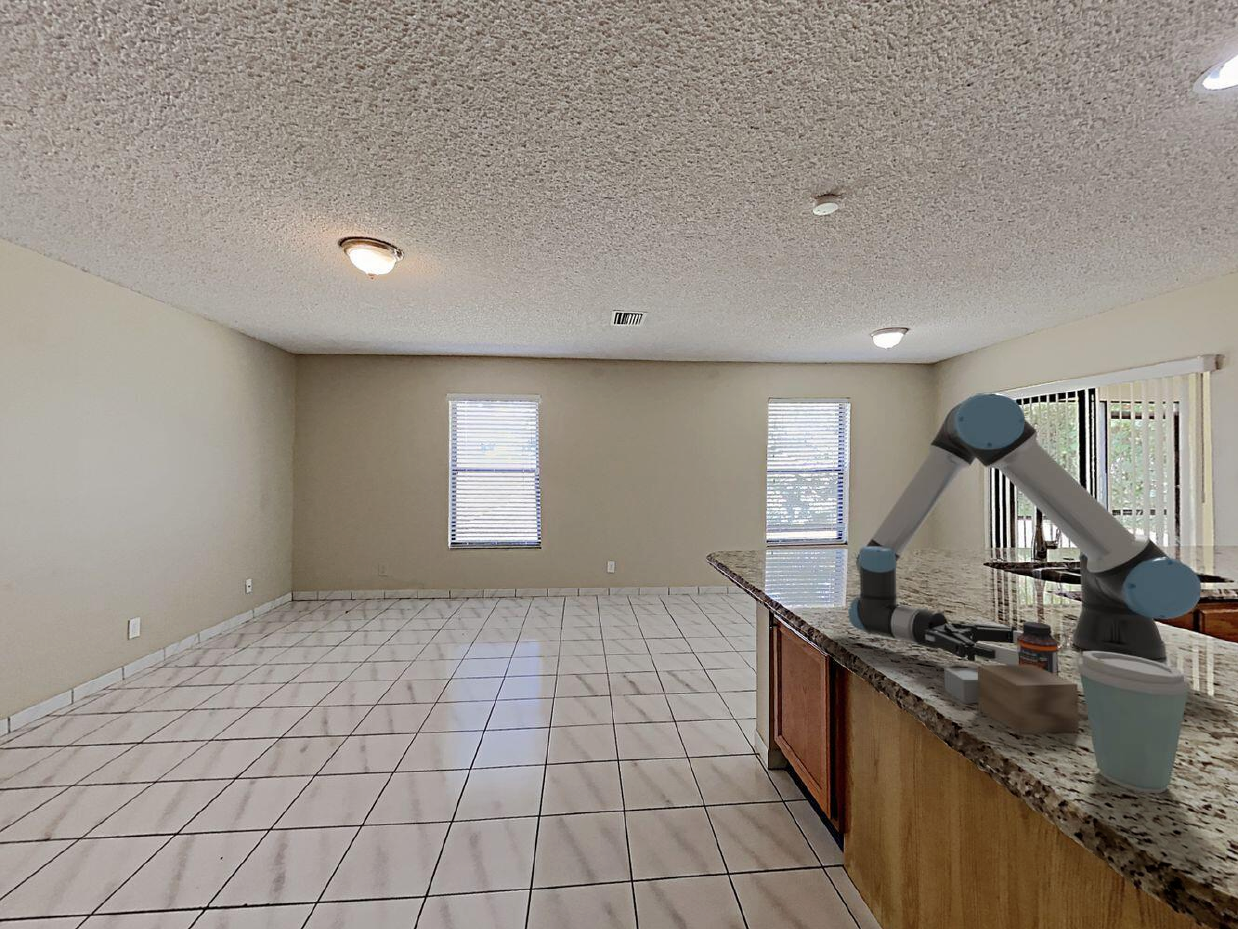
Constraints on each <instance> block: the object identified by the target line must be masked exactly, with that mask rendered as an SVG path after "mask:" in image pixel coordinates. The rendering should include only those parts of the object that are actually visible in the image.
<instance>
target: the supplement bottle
mask: <svg viewBox="0 0 1238 929" xmlns="http://www.w3.org/2000/svg"><path fill="white" fill-rule="evenodd" d="M1022 625H1023V626H1022V627H1023V628H1022V630H1023V631H1022V632H1023V633H1022V634H1019V635H1018V637H1017V646H1016V650H1018V657H1019V665H1029V664H1032V665H1034V666H1036V667H1039V668H1041V669H1043V670H1046V671H1048V672H1050V673H1053V674H1055V675H1057V676H1059V645H1058V644H1059V642H1058V641H1057V639H1056V638H1054V637H1053V636H1052V635H1051V634H1052V628H1051V625H1050V624H1047V623H1043V622H1036V621H1025V622H1023V624H1022Z"/></svg>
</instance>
